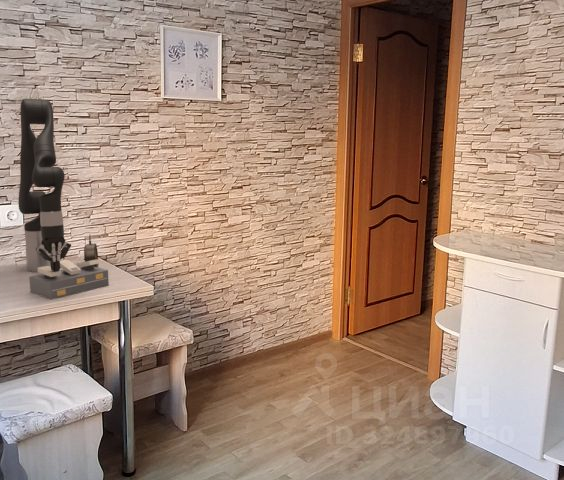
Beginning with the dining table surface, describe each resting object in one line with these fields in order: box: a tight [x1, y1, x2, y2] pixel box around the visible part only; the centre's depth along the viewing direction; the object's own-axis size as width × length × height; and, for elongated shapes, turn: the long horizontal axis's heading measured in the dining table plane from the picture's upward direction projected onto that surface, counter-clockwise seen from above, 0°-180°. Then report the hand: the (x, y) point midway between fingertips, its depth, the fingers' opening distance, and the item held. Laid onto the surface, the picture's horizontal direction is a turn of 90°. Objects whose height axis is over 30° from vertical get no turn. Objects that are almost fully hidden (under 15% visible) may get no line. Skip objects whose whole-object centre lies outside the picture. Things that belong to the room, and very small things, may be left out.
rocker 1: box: [37, 266, 62, 277], centre depth 212 cm, size 9×4×2 cm, turn 52°
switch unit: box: [28, 265, 110, 300], centre depth 219 cm, size 14×24×7 cm, turn 142°
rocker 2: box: [60, 259, 81, 275], centre depth 218 cm, size 9×4×2 cm, turn 52°
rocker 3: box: [76, 258, 100, 267], centre depth 224 cm, size 9×4×2 cm, turn 52°
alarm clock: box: [83, 233, 100, 268], centre depth 243 cm, size 11×5×16 cm, turn 13°
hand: (55, 271), depth 209 cm, fingers closed
